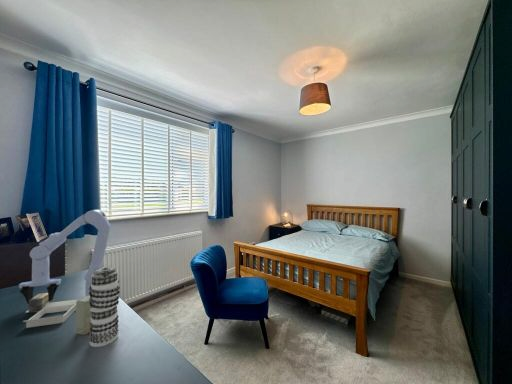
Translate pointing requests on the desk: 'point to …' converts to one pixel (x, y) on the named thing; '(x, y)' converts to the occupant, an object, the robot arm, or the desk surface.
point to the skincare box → (83, 315)
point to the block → (38, 302)
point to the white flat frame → (50, 308)
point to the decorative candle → (104, 306)
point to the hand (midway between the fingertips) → (40, 301)
